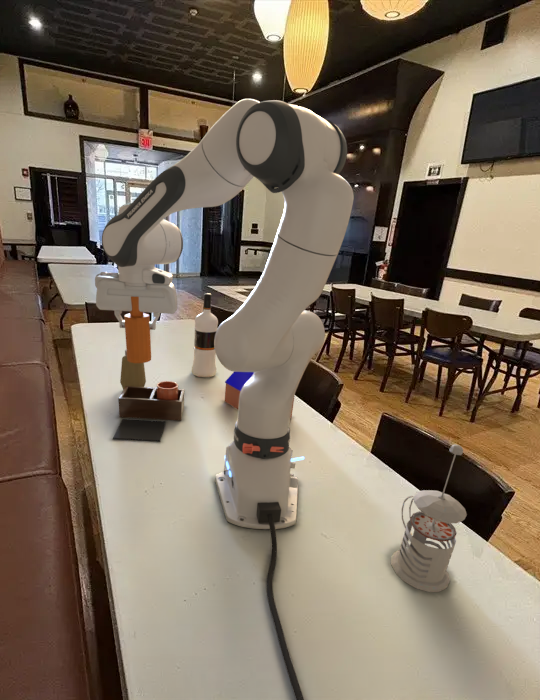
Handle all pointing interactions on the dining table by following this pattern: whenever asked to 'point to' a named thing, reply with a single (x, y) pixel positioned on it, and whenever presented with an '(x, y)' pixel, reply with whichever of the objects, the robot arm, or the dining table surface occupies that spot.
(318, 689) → the dining table surface
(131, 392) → the wooden condiment rack
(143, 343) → the bottle
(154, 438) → the mat
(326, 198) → the robot arm
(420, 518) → the french press
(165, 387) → the rack cup
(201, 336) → the vodka
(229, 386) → the house
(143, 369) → the squeeze bottle
